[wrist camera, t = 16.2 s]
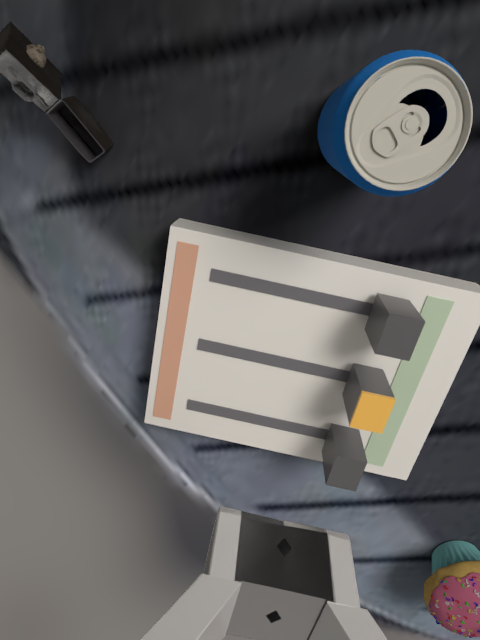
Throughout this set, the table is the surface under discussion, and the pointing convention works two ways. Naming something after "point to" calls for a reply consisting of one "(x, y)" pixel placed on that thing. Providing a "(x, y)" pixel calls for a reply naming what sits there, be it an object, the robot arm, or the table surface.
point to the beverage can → (397, 123)
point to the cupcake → (455, 588)
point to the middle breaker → (368, 398)
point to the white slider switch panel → (296, 344)
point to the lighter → (49, 93)
